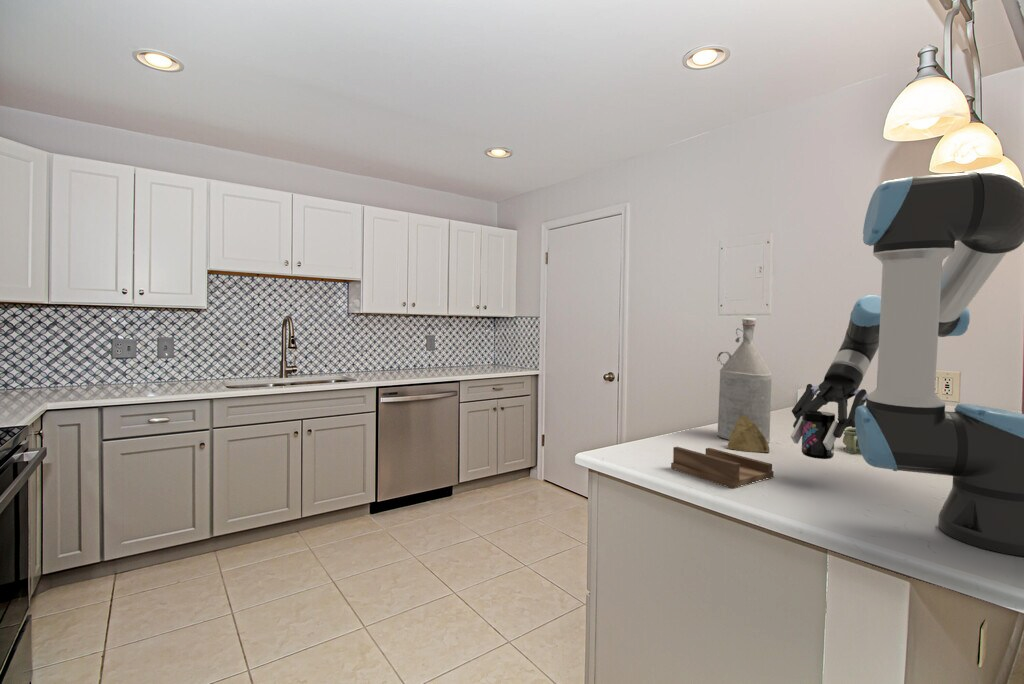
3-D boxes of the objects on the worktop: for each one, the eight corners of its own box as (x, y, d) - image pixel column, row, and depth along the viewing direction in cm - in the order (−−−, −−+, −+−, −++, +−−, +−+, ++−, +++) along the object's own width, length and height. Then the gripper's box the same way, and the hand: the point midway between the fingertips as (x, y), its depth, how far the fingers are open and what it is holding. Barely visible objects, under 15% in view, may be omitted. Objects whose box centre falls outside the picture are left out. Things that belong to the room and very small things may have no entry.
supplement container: (803, 451, 124) (804, 409, 124) (835, 455, 120) (836, 412, 120) (799, 456, 119) (800, 413, 119) (832, 461, 115) (833, 416, 115)
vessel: (872, 458, 141) (872, 436, 140) (836, 452, 147) (836, 431, 147) (883, 451, 148) (884, 430, 148) (848, 445, 155) (849, 425, 155)
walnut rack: (710, 459, 138) (711, 440, 138) (773, 477, 123) (773, 455, 123) (671, 468, 130) (671, 447, 130) (733, 488, 114) (733, 465, 114)
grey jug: (725, 431, 174) (728, 317, 172) (777, 440, 160) (781, 317, 159) (706, 436, 166) (709, 317, 164) (759, 447, 152) (763, 317, 151)
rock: (779, 443, 147) (749, 432, 156) (772, 423, 144) (741, 413, 152) (757, 468, 144) (728, 456, 153) (750, 448, 140) (720, 436, 149)
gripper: (896, 386, 119) (861, 462, 111) (811, 378, 136) (775, 444, 128) (887, 364, 116) (850, 441, 108) (801, 359, 133) (763, 425, 125)
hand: (809, 443), depth 118 cm, fingers closed on supplement container, 7 cm apart
